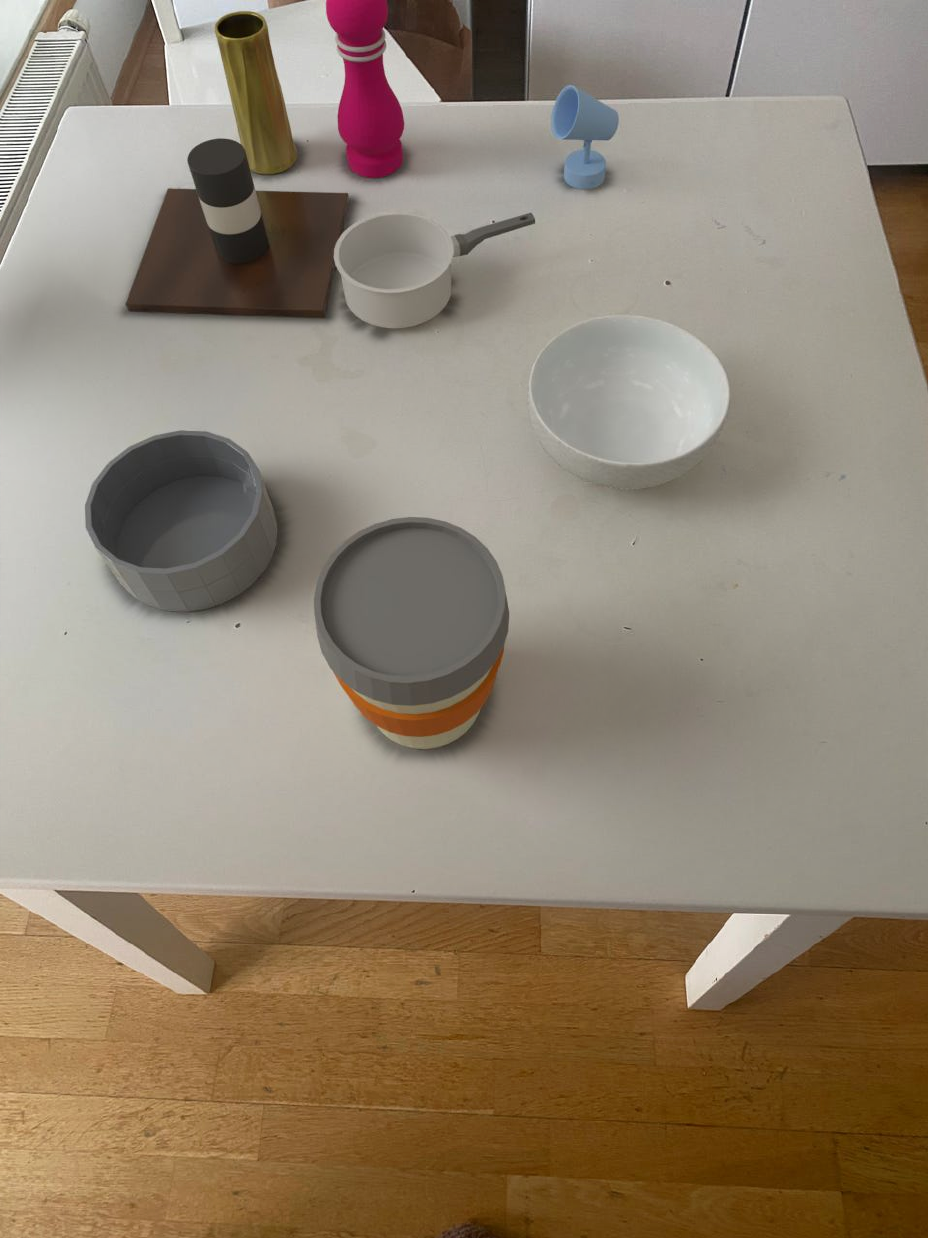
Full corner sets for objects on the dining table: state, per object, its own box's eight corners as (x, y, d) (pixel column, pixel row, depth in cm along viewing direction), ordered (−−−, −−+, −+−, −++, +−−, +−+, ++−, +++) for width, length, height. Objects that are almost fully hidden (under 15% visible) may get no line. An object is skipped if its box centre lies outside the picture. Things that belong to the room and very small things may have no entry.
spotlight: (558, 197, 97) (618, 183, 98) (565, 106, 88) (630, 92, 89) (543, 170, 99) (601, 157, 100) (548, 78, 90) (611, 65, 91)
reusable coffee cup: (503, 620, 72) (505, 510, 59) (510, 769, 66) (515, 684, 53) (347, 625, 72) (314, 516, 59) (339, 775, 66) (302, 690, 53)
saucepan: (551, 299, 89) (555, 252, 84) (359, 350, 87) (351, 305, 82) (511, 228, 95) (513, 180, 90) (329, 274, 92) (320, 227, 87)
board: (128, 311, 90) (125, 303, 89) (170, 195, 99) (167, 187, 98) (324, 318, 89) (322, 310, 88) (349, 200, 98) (348, 192, 97)
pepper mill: (334, 151, 102) (302, -49, 84) (393, 134, 103) (373, -66, 86) (356, 188, 99) (327, -12, 81) (417, 170, 100) (401, -31, 82)
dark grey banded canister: (210, 263, 92) (181, 173, 83) (221, 227, 94) (194, 137, 86) (263, 264, 92) (239, 175, 83) (273, 229, 94) (250, 138, 85)
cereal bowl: (635, 550, 75) (648, 499, 69) (487, 447, 80) (486, 392, 74) (750, 432, 80) (772, 375, 74) (604, 344, 86) (613, 284, 80)
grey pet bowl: (93, 607, 73) (62, 568, 68) (136, 471, 80) (111, 426, 75) (260, 616, 73) (242, 577, 67) (290, 478, 79) (275, 433, 74)
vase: (264, 182, 99) (232, 49, 87) (233, 157, 102) (197, 23, 89) (308, 158, 101) (282, 24, 89) (277, 134, 104) (248, 0, 91)
